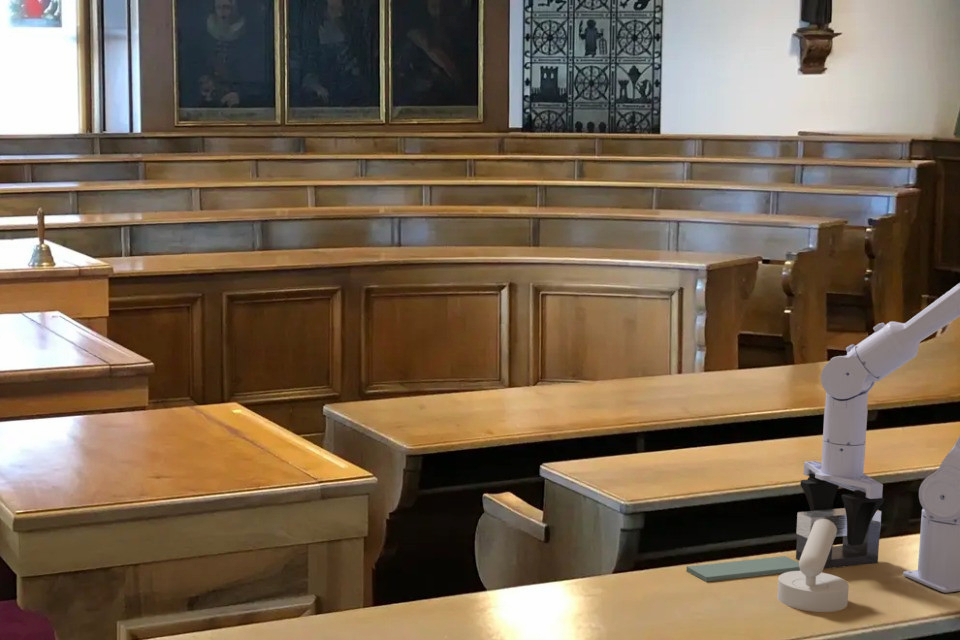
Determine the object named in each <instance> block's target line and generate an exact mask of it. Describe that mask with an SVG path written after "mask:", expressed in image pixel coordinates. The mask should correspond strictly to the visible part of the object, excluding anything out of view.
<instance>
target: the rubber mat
mask: <svg viewBox="0 0 960 640" xmlns="http://www.w3.org/2000/svg"><path fill="white" fill-rule="evenodd" d="M685 570H686V572H688V573H690V574H691V575H693V576H695V577H697V578H699V579H701V581H704V582H714V581H715V582H716V581H723V580H733V579H734V580H735V579H742V578H752V577H758V576H759V577H760V576H769V575H776V574H783V573H786V572H791V571H801V570H800V568H799V561H797V560H794V559H792V558H790V557H788V556H786V555H782V556H774V557H773V556H772V557H764V558H763V557H762V558H755V559H746V560H737V561H736V560H735V561H727V562H726V561H725V562H718V563H707V564H699V565H689V566H686V569H685Z"/></svg>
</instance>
